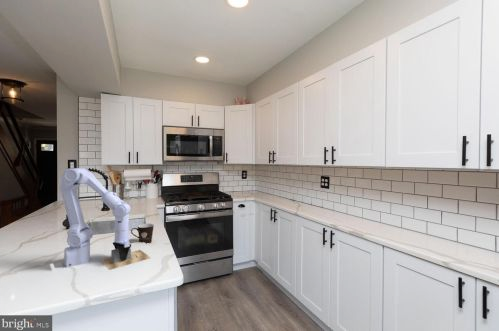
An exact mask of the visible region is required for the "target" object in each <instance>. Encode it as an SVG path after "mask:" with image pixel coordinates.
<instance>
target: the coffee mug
mask: <svg viewBox="0 0 499 331" xmlns="http://www.w3.org/2000/svg"><path fill="white" fill-rule="evenodd" d="M154 227H155V226H154V224H153V223H141V224H139V225H137V227H133V228H131V229H130V233H131V235H133V236H134V237H135V238H137V239H138V240H139V241H138V242H139V243H145V245H148V244H147V243H149V244H151V243H152V241H153V232H154ZM133 230H136V231H137V233H138V236H137V235H136V234H134V233H133Z"/></svg>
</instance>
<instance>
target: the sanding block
mask: <svg viewBox="0 0 499 331" xmlns="http://www.w3.org/2000/svg"><path fill="white" fill-rule="evenodd" d="M110 251H111V252H110V254H111V255H110V257H111V261H112V262H113V263H114V264H116V263H120V262H123V261H127V260H131V252H132V249H131V248H130V249H129V251H128V255H127V259H126V260H123V261H121V259H120V253H119V250H118V249H115V248H114V249H111V250H110Z"/></svg>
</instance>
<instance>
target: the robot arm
mask: <svg viewBox="0 0 499 331" xmlns="http://www.w3.org/2000/svg"><path fill="white" fill-rule="evenodd" d="M61 178H62V180H61V183H60V186H59V188H60V193H61V197H62V200H63V204H64V208H65V212H66V215H67V219H68V223H69V228H68V229H67V232H66V233H67V238H66V242H67V245H68V247H65V248H64V252H63V253H64V255H63V257H64V261H63V265H64V266H65V267H66V268H71V267H73V266H80V265H84V264H87V263H89V262H90V261H91V239H92V238H93V236H94V232H93V229H91V228H90V225H89V224H88V223H87V222H85V218H84V215H83V214H84V213H83V211H82V208H81V203H80V199H79V195H78V191H77V189H78V188H79V186H80V185H86V186H88V187H89V188H91V189H92V190H93V191H95V192H96V193H97V194H98V196H100V197H101V202H103V203H104V204H105V205H106V206H107V208H109V209H110V210H111V211H112V216H114V240H113V242H112V244H113V247H114V249H118V250H119V253H120V259H121V261H123V260H126V259H127V255H128V251H129V249H131V248H132V244H131V243H130V240H131V239H132V236H130V234H129V233H130V215H129V213H130V212H131V210H132V207H131V205H130V204H129V203H128V202H125V201H124V200H122V199H121V198H120V197H118V193H117V192H114V191H109V190H107V188H106V187H104V185H103V184H102V183H101V182H100V181H99V180H98V179H97V178H96V177H95V175H94V173H92V172H91V171H90V170H89V169H88V168H85V167H78V168H77V167H75V168H74V167H72V168H71V167H70V168H67V169H66V170H64V171H63V173H62V174H61Z"/></svg>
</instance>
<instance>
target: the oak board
mask: <svg viewBox="0 0 499 331" xmlns="http://www.w3.org/2000/svg"><path fill="white" fill-rule="evenodd" d="M149 259H152V257H151V256H149V255H148V254H147V253H145V252H144V251H142V250H141V249H139V250H135V251H131V260H127V261H123V262H120V263H116V264H114V263H113V262H112V261H111V256H110V257H107V258H103V259H102V258H101V259H100V261H101V263H102V264H103V265H104V266H105V267H106V269H107V270H109V271H110V270H114V269H119V268H122V267H124V266H129V265H131V264H132V265H133V264H135V263H136V264H137V263H139V262H143V261H145V260H149Z"/></svg>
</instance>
